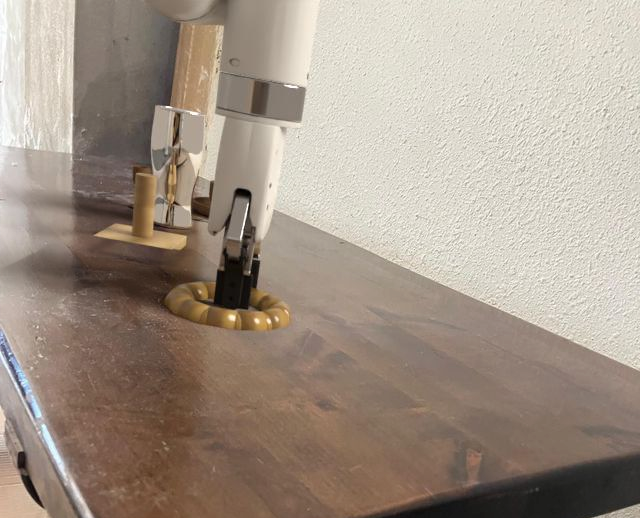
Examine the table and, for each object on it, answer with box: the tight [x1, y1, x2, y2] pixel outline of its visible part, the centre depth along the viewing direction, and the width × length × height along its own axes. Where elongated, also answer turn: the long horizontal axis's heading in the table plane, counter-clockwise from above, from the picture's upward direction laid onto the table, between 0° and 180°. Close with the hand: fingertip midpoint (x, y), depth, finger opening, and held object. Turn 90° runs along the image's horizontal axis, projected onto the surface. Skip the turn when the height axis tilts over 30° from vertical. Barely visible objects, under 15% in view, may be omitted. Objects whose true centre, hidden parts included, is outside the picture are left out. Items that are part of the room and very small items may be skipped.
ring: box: [164, 281, 292, 332], centre depth 67 cm, size 11×11×2 cm
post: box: [93, 173, 188, 251], centre depth 88 cm, size 9×9×8 cm
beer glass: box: [150, 104, 206, 230], centre depth 101 cm, size 7×7×15 cm
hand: (234, 304), depth 71 cm, fingers open, 5 cm apart
